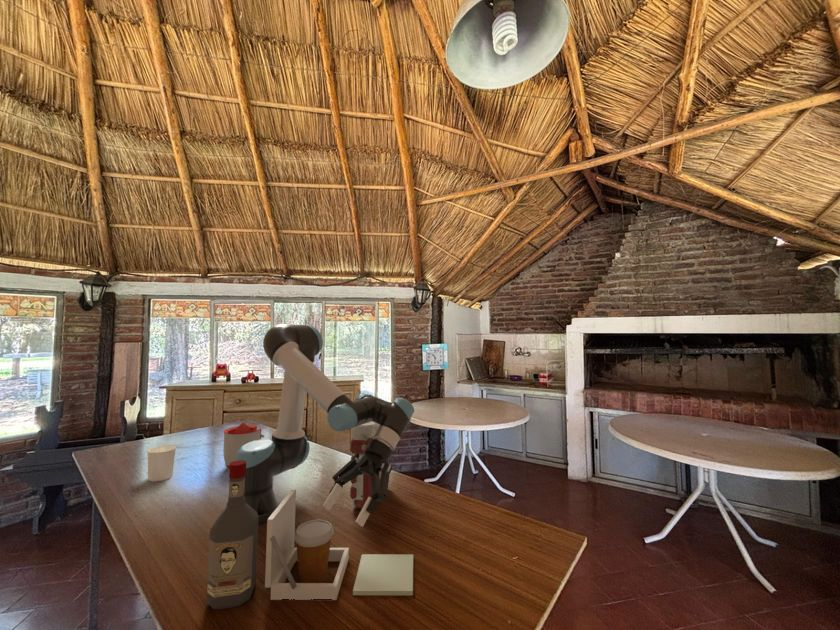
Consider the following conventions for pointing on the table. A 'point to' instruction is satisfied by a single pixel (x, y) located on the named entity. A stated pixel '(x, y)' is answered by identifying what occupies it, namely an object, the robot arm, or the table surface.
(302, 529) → the disposable coffee cup
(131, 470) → the table surface
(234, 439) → the citrus juicer
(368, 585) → the board
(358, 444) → the first aid kit
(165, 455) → the candle holder
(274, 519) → the access hatch
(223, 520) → the liquor
